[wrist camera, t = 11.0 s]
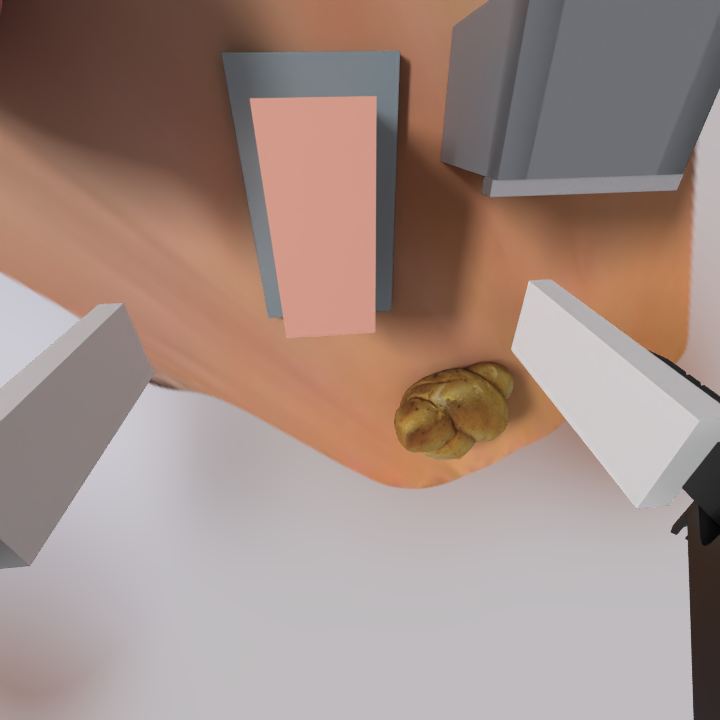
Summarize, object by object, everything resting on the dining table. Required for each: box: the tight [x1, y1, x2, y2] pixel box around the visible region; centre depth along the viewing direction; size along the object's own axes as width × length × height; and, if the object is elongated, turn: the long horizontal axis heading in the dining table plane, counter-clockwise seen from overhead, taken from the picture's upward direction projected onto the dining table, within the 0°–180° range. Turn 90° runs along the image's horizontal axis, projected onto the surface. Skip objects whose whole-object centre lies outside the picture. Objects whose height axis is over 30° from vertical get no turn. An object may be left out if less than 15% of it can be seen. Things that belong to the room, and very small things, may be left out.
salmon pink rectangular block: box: [250, 96, 377, 338], centre depth 24 cm, size 13×6×8 cm, turn 1°
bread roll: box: [394, 362, 514, 460], centre depth 37 cm, size 13×10×8 cm
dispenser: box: [441, 0, 720, 197], centre depth 21 cm, size 8×10×10 cm
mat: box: [221, 51, 400, 318], centre depth 27 cm, size 18×11×1 cm, turn 1°
